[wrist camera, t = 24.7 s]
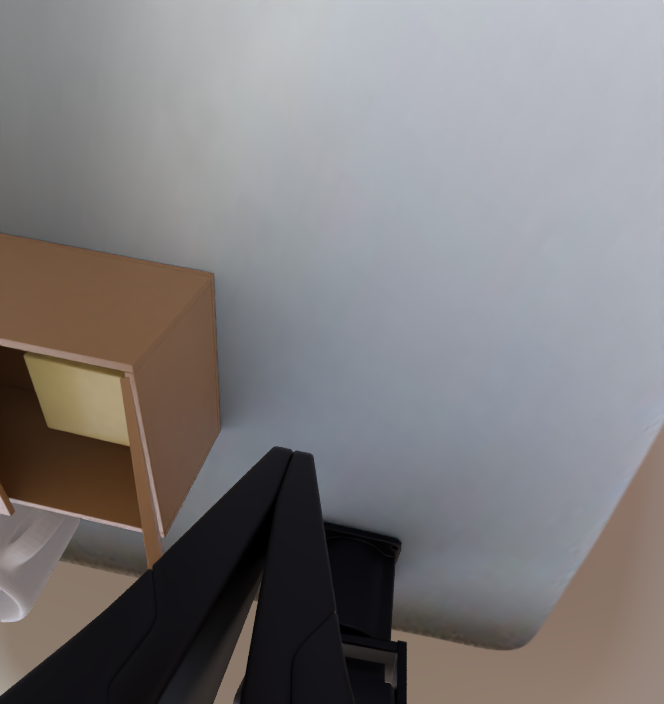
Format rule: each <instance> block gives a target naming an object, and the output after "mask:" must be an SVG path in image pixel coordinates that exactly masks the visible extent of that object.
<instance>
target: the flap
mask: <svg viewBox="0 0 664 704" xmlns="http://www.w3.org/2000/svg"><path fill="white" fill-rule="evenodd" d="M120 384H121V391H122V397H123V404H124V411H125V417H126V424H127V431H128V437H129V444H130V451H131V457H132V464H133V471H134V477H135V484H136V491H137V497H138V504H139V511H140V517H141V524H142V531H143V537H144V544H145V551H146V557H147V564H148V569H152V566H153V564H154V563H155V562H156V561H157V560H158V559H159V558H160V557H162V556H163V555H164V551H163V546H162V541H161V536H160V530H159V525H158V520H157V515H156V510H155V505H154V500H153V495H152V490H151V485H150V479H149V474H148V469H147V464H146V459H145V454H144V449H143V444H142V439H141V434H140V428H139V423H138V418H137V413H136V408H135V403H134V398H133V393H132V388H131V383H130V378H129V377H125V378H120Z"/></svg>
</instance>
